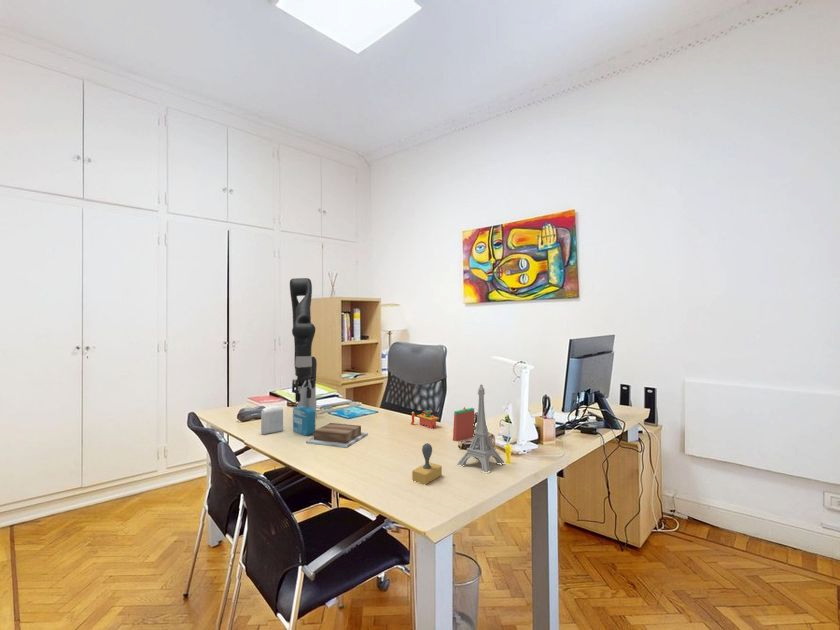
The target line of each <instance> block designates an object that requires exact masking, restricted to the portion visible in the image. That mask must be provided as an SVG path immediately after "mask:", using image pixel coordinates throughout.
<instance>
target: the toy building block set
mask: <svg viewBox="0 0 840 630" xmlns="http://www.w3.org/2000/svg"><path fill="white" fill-rule="evenodd" d="M432 413H433V411H432V410H430V409H429V410H428V409H426V410H422V413H421V414H415V412H414V411H412V412H411V423H410V425H412V426H414V423H415V417H418V418H419V426H423V427H425V428H426V427H427V428H430V429H433V428H435V429H436V428H437V420H439V419H440V417H437V416H435V415H434V414H432ZM431 414H432V415H431ZM475 415H476V414H475V408H474V407H468V408H466V407H465V406H464V407H463V408H462V409H460V410H454V412H453V430H452V431H453V433H452V441H454V442H459V441H462V440H466V439H469V438H474V437H473V424H474V418H475Z"/></svg>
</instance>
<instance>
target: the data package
mask: <svg viewBox="0 0 840 630" xmlns="http://www.w3.org/2000/svg"><path fill="white" fill-rule="evenodd" d="M292 430H293V432H295V433H296V434H298V435H299V434H300V435H303V436H310V435H314V430H316V417H315V409H314V408H310V407H306V406H298V405H297V406H294V407H293V409H292Z"/></svg>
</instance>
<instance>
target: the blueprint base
mask: <svg viewBox="0 0 840 630" xmlns="http://www.w3.org/2000/svg"><path fill="white" fill-rule="evenodd" d="M368 435H369V433H368V432H362V426H361V425H357V424H356V425H355V424H346V423H336V422H329V423H327V424H325V425H323V426H320V427H318V428H317V429H316V428H315V430H314V434H313V437H312V438H310V439H308V440H305V444H311V445H319V446H327V447H335V448H345V449H348V448H349V447H351V446H352V445H354V444H355V443H357V442H358V441H360V440H362V439H364V438H365V437H367V436H368Z"/></svg>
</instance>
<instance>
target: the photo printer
mask: <svg viewBox="0 0 840 630" xmlns="http://www.w3.org/2000/svg"><path fill="white" fill-rule="evenodd" d="M260 414H261V416H260V417H261V418H260V419H261V420H260V422H261V423H260V426H261V427H260V432H261V435H267V434H272V433H277V432H282V431H284V408H283V406H280V405H270V406H266V407H263V408H262V409H261V412H260Z"/></svg>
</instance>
